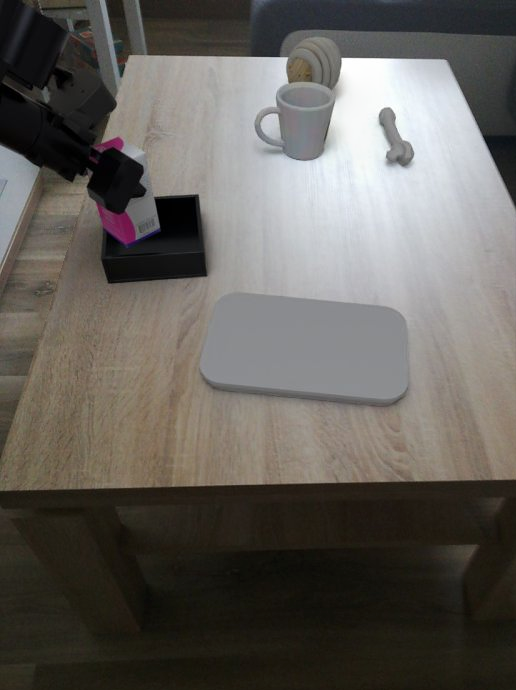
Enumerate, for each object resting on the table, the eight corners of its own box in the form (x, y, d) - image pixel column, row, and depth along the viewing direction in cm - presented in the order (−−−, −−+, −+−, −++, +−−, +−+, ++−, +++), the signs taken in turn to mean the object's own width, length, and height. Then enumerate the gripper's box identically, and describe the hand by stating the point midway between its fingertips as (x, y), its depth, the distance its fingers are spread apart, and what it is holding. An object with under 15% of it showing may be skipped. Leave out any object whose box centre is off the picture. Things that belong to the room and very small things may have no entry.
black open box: (108, 283, 81) (100, 258, 77) (111, 224, 89) (104, 199, 85) (207, 276, 82) (204, 251, 79) (201, 218, 91) (198, 193, 87)
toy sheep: (271, 105, 115) (271, 45, 106) (311, 75, 124) (314, 18, 115) (315, 120, 112) (319, 60, 103) (353, 88, 121) (360, 30, 112)
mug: (340, 158, 104) (346, 103, 96) (266, 174, 99) (265, 117, 91) (316, 131, 109) (319, 77, 101) (244, 145, 105) (242, 90, 97)
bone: (413, 170, 102) (417, 151, 99) (384, 169, 102) (388, 149, 99) (402, 121, 113) (405, 102, 110) (376, 120, 113) (379, 101, 110)
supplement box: (136, 212, 80) (120, 134, 71) (161, 231, 78) (148, 152, 69) (101, 229, 77) (79, 149, 68) (126, 249, 75) (107, 169, 66)
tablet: (405, 412, 69) (408, 401, 67) (196, 392, 69) (194, 380, 68) (402, 320, 79) (406, 308, 77) (219, 302, 79) (218, 290, 77)
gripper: (110, 84, 54) (207, 154, 67) (8, 25, 61) (115, 99, 75) (61, 190, 56) (164, 236, 70) (-31, 120, 63) (79, 175, 77)
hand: (130, 183), depth 73 cm, fingers closed on supplement box, 6 cm apart
